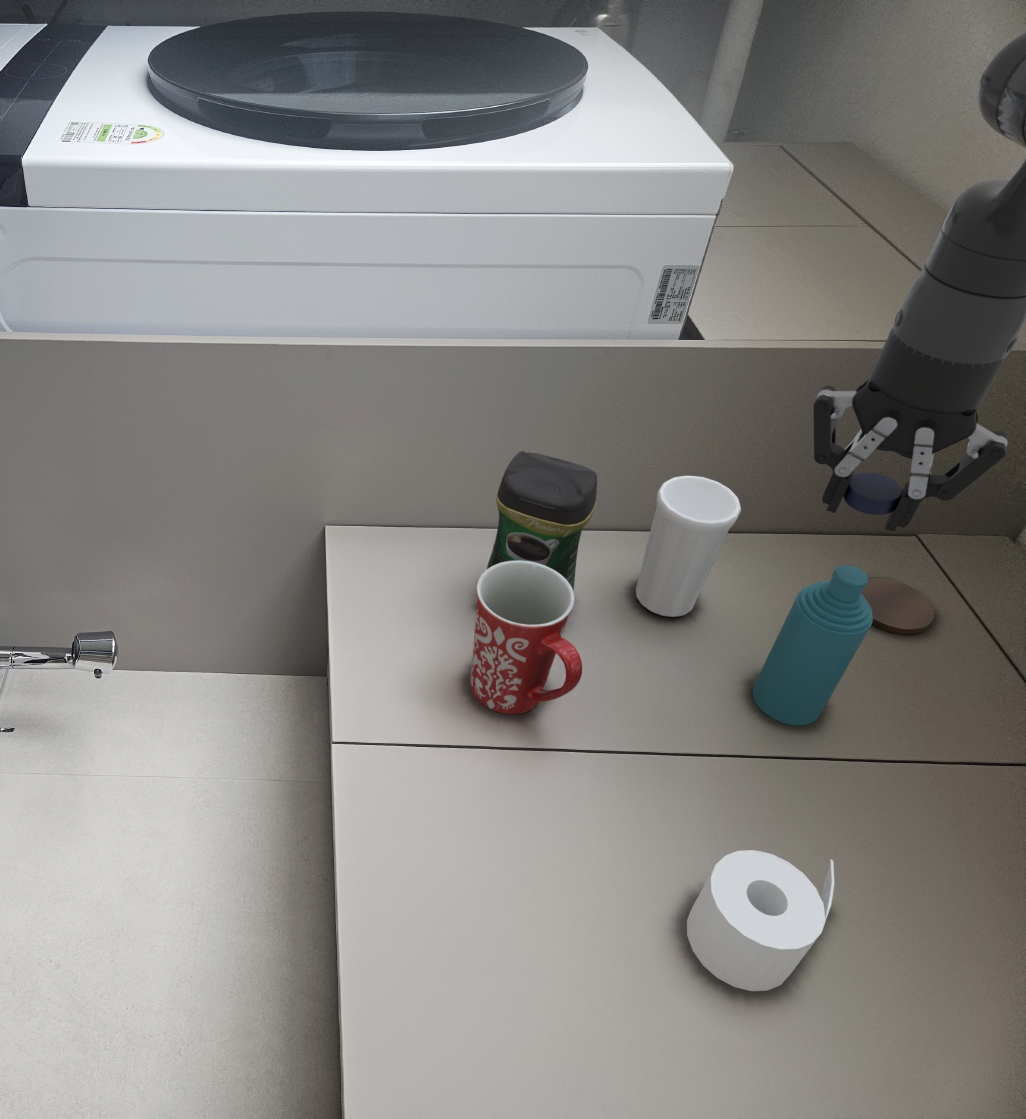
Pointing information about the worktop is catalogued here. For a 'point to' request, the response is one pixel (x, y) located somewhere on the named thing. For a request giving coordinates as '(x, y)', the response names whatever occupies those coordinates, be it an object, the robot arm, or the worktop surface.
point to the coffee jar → (543, 512)
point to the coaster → (897, 606)
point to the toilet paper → (757, 919)
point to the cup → (684, 542)
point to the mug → (521, 636)
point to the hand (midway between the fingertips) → (861, 515)
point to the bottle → (814, 648)
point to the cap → (872, 493)
